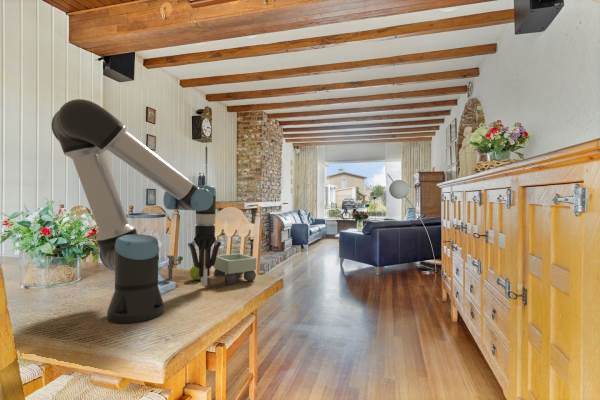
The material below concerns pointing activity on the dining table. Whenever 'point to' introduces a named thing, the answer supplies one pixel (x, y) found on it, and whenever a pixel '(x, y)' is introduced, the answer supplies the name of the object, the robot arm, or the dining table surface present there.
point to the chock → (215, 281)
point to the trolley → (235, 267)
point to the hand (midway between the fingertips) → (204, 284)
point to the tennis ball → (195, 273)
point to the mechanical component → (171, 263)
